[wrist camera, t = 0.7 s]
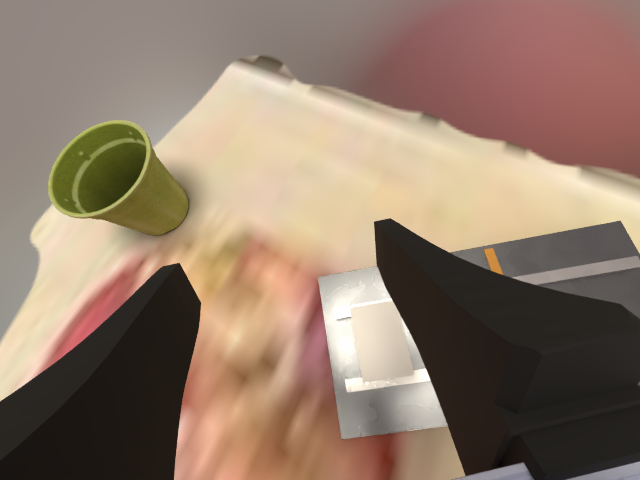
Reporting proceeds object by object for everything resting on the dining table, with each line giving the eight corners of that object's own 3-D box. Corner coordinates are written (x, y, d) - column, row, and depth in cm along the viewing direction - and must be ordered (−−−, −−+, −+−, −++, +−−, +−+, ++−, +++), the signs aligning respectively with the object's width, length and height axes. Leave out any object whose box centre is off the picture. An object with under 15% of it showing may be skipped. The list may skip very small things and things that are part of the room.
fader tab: (406, 370, 22) (414, 375, 17) (365, 376, 22) (362, 382, 18) (392, 310, 24) (396, 299, 19) (354, 316, 24) (349, 307, 19)
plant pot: (217, 181, 33) (168, 127, 25) (181, 260, 31) (112, 228, 23) (150, 167, 36) (85, 113, 28) (111, 239, 33) (26, 203, 25)
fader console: (695, 389, 20) (735, 393, 18) (343, 434, 23) (340, 443, 21) (606, 228, 25) (630, 215, 23) (320, 281, 27) (315, 274, 25)
